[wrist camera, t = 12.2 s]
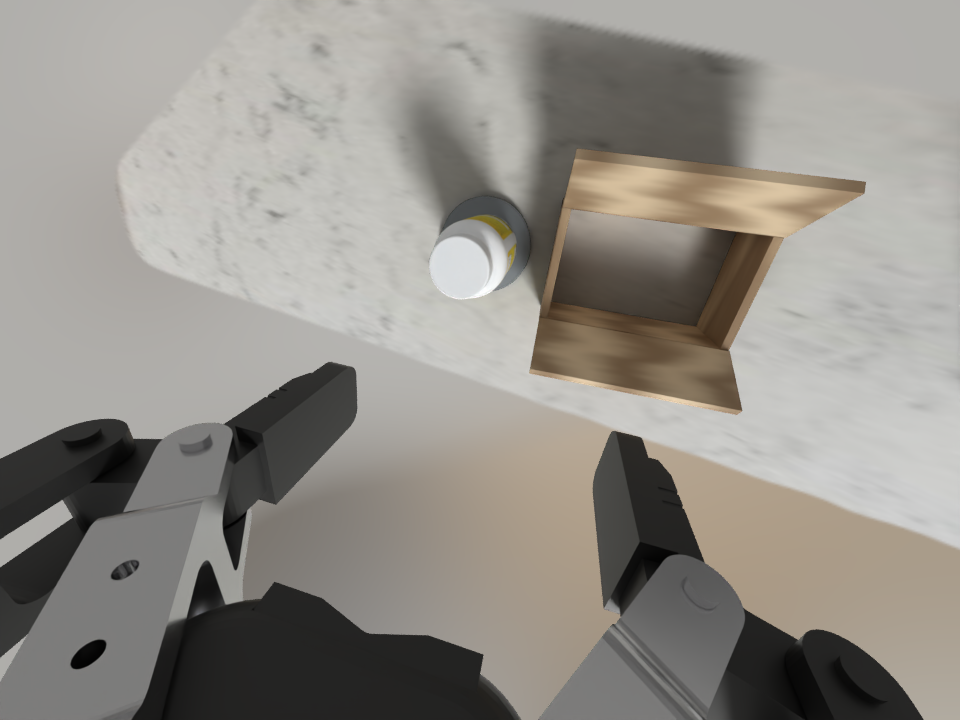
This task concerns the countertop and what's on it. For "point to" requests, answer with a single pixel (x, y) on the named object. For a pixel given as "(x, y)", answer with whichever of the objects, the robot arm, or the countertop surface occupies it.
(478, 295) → the supplement bottle
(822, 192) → the carton
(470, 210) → the coaster
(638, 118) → the countertop surface
